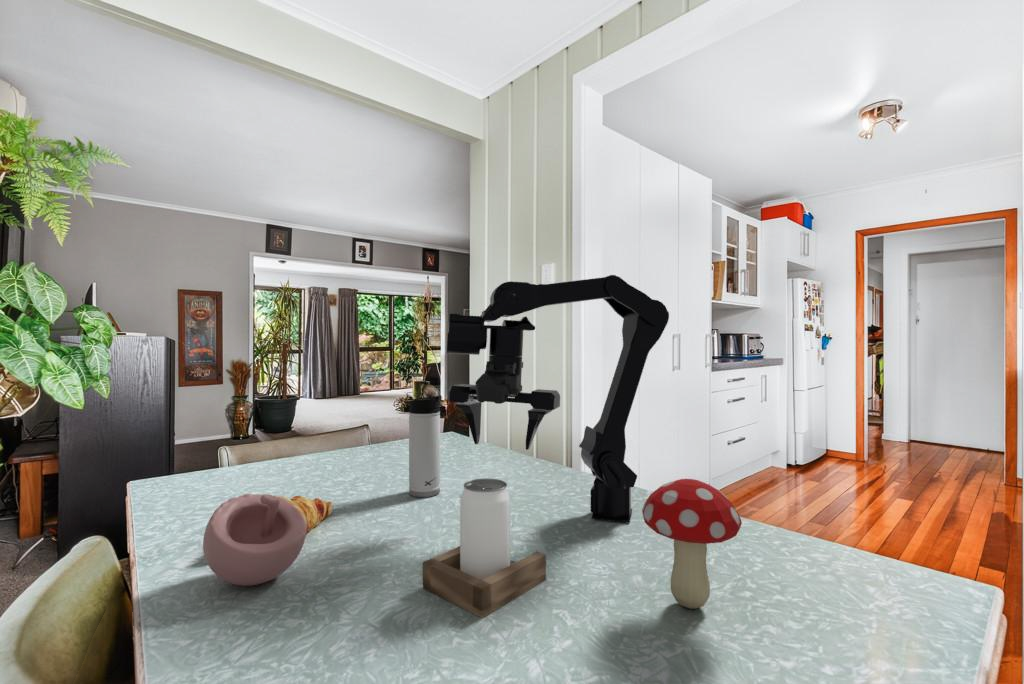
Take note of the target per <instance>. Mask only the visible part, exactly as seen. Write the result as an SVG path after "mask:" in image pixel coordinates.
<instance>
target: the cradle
mask: <svg viewBox="0 0 1024 684" xmlns="http://www.w3.org/2000/svg"><path fill="white" fill-rule="evenodd" d="M546 580H547V554H545V553H542V552H539V551H534V552H533V553H531V554H530V555H527V556H526V557H523V558H521V559H519V560H518V561H514V560H511V559H510V566H508V567H506V568H504V569H502V570H500V571H498V572H497V573H495V574H493V575H491V576H489V577H487V578H485V579H483V580H480V579H478V578H476V577H473V576H471V575H469V574H467V573H464V572H462V571H460V545H459V546H458V547H455V548H452V549H450V550H448V551H445V552H444V553H441V554H438V555H435V556H433V557H432V558H429V559H427V560H425V561H423V562H422V589H423V590H425V591H428V592H430V593H432V594H434V595H435V596H438V597H439V598H441V599H443V600H445V601H448V602H449V603H452V604H453V605H456V606H457V607H458V608H462V609H463V610H465V611H467V612H469V613H471V614H474V615H475V616H477V617H478V618H481V619H483V618H485V617H486V616H489V615H490V614H492V613H493V612H495V611H496V610H498V609H500V608H502V607H503V606H505V605H506V604H508V603H510V602H512V601H513V600H515V599H516V598H518V597H520V596H521V595H523V594H525V593H526V592H528V591H530V590H531V589H533V588H534V587H536V586H539V584H541V583H543V582H544V581H546Z"/></svg>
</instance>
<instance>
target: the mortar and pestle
mask: <svg viewBox="0 0 1024 684" xmlns="http://www.w3.org/2000/svg"><path fill="white" fill-rule="evenodd" d="M277 496H278V495H277ZM277 496H276V495H273V494H268V493H267V494H266V493H263V494H262V493H261V494H252V493H246V494H242V495H240V496H238V497H231V498H230V499H228V500H227V501H224V502H223V503H221V504H220V505H219V506H218V507H217V508H216V509H215V510H214V511H213V513H212V515H211V516H210V518H209V520H208V522H207V524H206V527H205V530H204V533H203V541H202V549H203V551H202V552H203V554H204V558H205V561H206V563H207V565H208V568H210V570H211V571H212V572H213V574H214V575H216V577H218V578H220V579H221V580H223V581H225V582H227V583H229V584H232V585H236V586H246V587H247V586H256V585H261V584H264V583H267V582H269V581H272V580H274V579H276V578H277V577H279V576H280V575H282V574H283V573H285V571H286V570H288V569H289V568H290V567H291V565H292V564H293V563H294V562H295V561H296V560H297V558H298V556H300V553H301V551H302V549H303V547H304V544H305V541H306V537H307V534H306V532H307V526H306V521H305V518H304V516H303V515H302V513H301V512H300V511H299V510H298V508H297V507H295V506H294V505H293V504H291V503H290V502H288V501H287V500H285V499H283V498H280V497H277Z"/></svg>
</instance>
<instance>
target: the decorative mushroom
mask: <svg viewBox="0 0 1024 684" xmlns="http://www.w3.org/2000/svg"><path fill="white" fill-rule="evenodd" d="M641 512H642V518H643V520H644V521H643V522H644V524H646V526H648V527H649V528H650V529H651V530H653V531H654V532H655V533H656V534H658V535H660V536H663V537H665V538H668V539H671V540H673V553H674V555H673V565H672V570H671V575H670V591H671V594H672V596H673V597H674V599H675V601H676V602H677V603H678V605H681V606H682V607H685V608H686V609H689V610H694V609H699V608H702V607H704V606H705V604H706V603H707V601H708V600H709V598H710V597H711V596H710V595H711V593H710V592H711V591H710V590H711V585H710V580H709V575H708V574H709V573H708V568H707V567H708V566H707V555H708V554H707V552H708V544H717V543H719V544H720V543H723V542H725V541H729V540H731V539H733V538H734V537H736V536H737V534H738V533H739V531H740V529H741V527H742V524H743V522H742V519H741V516H740V514H739V513H738V510H737V509H736V508H735V507H734V505H733V503H732V502H731V501H730V499H729V498H728V497H727V496H726V495H725V494H724V493H723V492H722V491H720V490H719V489H717V488H715V487H714V486H712V485H710V484H708V483H706V482H705V481H701V480H698V479H694V478H681V479H676V480H673V481H669V482H667V483H664V484H662V485H660V486H659V487H658V488H657V489H655V490H654V491H653V492H652V493H650V495H649V496H648V498H647V499H646V500H645V501H644V503H643V507H642V509H641Z"/></svg>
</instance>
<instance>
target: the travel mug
mask: <svg viewBox="0 0 1024 684" xmlns="http://www.w3.org/2000/svg"><path fill="white" fill-rule="evenodd" d="M441 400H442V395H435V396H427V397H421V398H419V397H418V398H414V399H413V400H409V403H408V405H409V408H408V415H409V416H408V461H409V462H408V479H409V480H408V486H409V487H408V493H409V495H410V496H411V495H412V496H411V497H413V498H421V497H423V498H431V497H430V496H432V497H435V496H438V495H439V494H440V492H441V485H440V484H441V408H440V406H441V405H440V404H441V402H440V401H441ZM438 493H439V494H438ZM434 495H435V496H434Z"/></svg>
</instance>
